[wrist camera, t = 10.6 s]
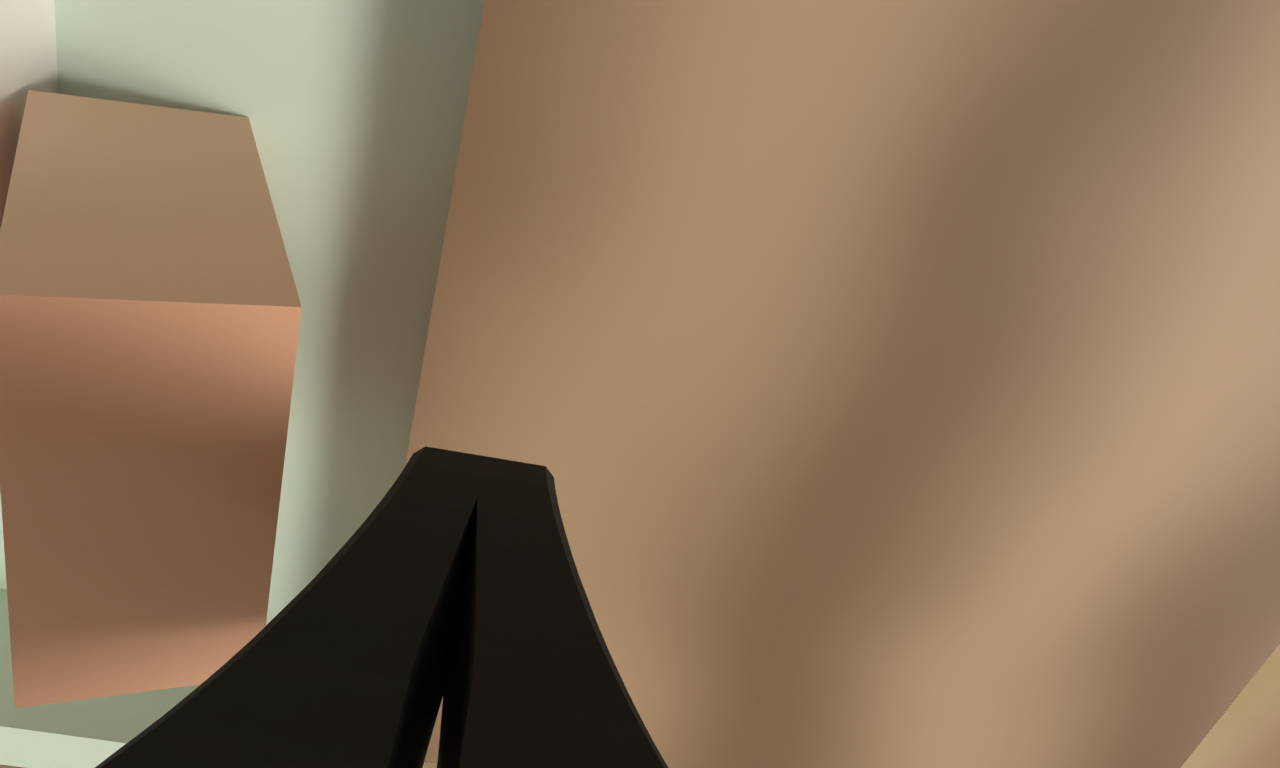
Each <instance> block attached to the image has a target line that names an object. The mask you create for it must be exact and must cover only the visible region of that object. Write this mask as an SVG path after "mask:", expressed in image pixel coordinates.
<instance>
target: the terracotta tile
mask: <svg viewBox="0 0 1280 768" xmlns="http://www.w3.org/2000/svg"><path fill="white" fill-rule="evenodd" d="M301 308H302V307H301V303H300V300H299V296H298V293H297V289H296V285H295V282H294V278H293V275H292V271H291V268H290V264H289V260H288V257H287V253H286V250H285V246H284V242H283V239H282V235H281V232H280V228H279V225H278V221H277V217H276V214H275V210H274V207H273V203H272V200H271V196H270V192H269V189H268V185H267V182H266V178H265V175H264V171H263V167H262V164H261V160H260V157H259V153H258V150H257V146H256V142H255V139H254V135H253V132H252V128H251V125H250V121H249V117H241V116H233V115H225V114H217V113H209V112H201V111H193V110H185V109H177V108H169V107H161V106H153V105H145V104H137V103H129V102H121V101H113V100H105V99H97V98H89V97H81V96H73V95H65V94H57V93H49V92H41V91H33V90H28V94H27V99H26V104H25V109H24V114H23V119H22V124H21V129H20V134H19V139H18V144H17V149H16V154H15V159H14V164H13V169H12V174H11V179H10V184H9V189H8V194H7V199H6V204H5V209H4V214H3V219H2V224H1V229H0V492H1V507H2V522H3V537H4V553H5V568H6V583H7V598H8V613H9V628H10V643H11V659H12V674H13V689H14V704H15V708H20V707H28V706H36V705H44V704H51V703H59V702H67V701H75V700H83V699H90V698H98V697H106V696H114V695H121V694H129V693H137V692H145V691H152V690H160V689H168V688H176V687H183V686H191V685H199V684H202V683H203V682H204V681H206V680H207V679H208V678H209V677H210V676H211V675H212V674H214V673H215V672H216V671H217V670H218V669H219V668H221V667H222V666H223V665H224V664H225V663H226V662H227V661H229V660H230V659H231V658H232V657H233V656H234V655H235V654H236V653H237V652H238V651H240V650H241V649H242V648H243V647H244V646H245V645H246V644H247V643H248V642H250V641H251V640H252V639H253V638H254V637H255V636H256V635H257V634H258V633H259V632H260V631H261V630H262V629H263V628H264V627H265V626H266V620H267V611H268V602H269V593H270V584H271V575H272V566H273V557H274V548H275V540H276V531H277V522H278V513H279V504H280V495H281V486H282V477H283V468H284V459H285V450H286V441H287V433H288V424H289V415H290V406H291V397H292V388H293V379H294V370H295V361H296V352H297V343H298V334H299V326H300V317H301Z"/></svg>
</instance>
